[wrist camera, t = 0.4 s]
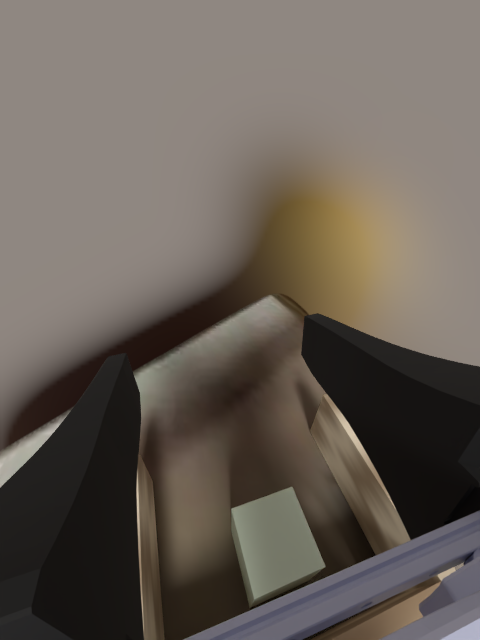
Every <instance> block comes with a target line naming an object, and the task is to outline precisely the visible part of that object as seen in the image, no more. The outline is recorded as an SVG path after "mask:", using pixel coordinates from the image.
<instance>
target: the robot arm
mask: <svg viewBox="0 0 480 640" xmlns="http://www.w3.org/2000/svg"><path fill="white" fill-rule="evenodd" d="M301 355H302V356H303V358H304V360H305V362H306V364H307V366H308V368H309V369H310V371H311V373H312V374H313V376H314V377H315V378H316V380H317V381H318V383H319V384H320V385H321V387H322V388H323V389H324V391H325V392H326V393H327V395H328V396H329V397H330V399H331V400H332V401H333V403H334V404H335V405H336V406H337V408H338V409H339V410H340V412H341V413H342V414H343V416H344V417H345V419H346V420H347V422H348V423H349V425H350V426H351V428H352V430H353V431H354V433H355V435H356V436H357V438H358V440H359V441H360V443H361V445H362V446H363V448H364V450H365V452H366V453H367V455H368V457H369V459H370V460H371V462H372V464H373V466H374V467H375V469H376V471H377V473H378V475H379V477H380V479H381V481H382V483H383V484H384V486H385V488H386V490H387V492H388V494H389V496H390V498H391V500H392V502H393V504H394V506H395V508H396V510H397V512H398V514H399V516H400V518H401V520H402V522H403V525H404V527H405V529H406V531H407V533H408V535H409V538H410V541H408V542H406V543H404V544H401V545H399V546H397V547H394V548H392V549H390V550H388V551H385V552H383V553H381V554H378V555H376V556H374V557H371V558H369V559H367V560H365V561H362V562H360V563H358V564H355V565H353V566H351V567H349V568H346V569H344V570H342V571H339V572H337V573H335V574H332V575H330V576H328V577H326V578H323V579H321V580H319V581H316V582H314V583H312V584H310V585H307V586H305V587H303V588H300V589H298V590H296V591H293V592H291V593H289V594H287V595H284V596H282V597H280V598H277V599H275V600H273V601H270V602H268V603H266V604H264V605H261V606H259V607H257V608H254V609H252V610H250V611H248V612H245V613H243V614H241V615H238V616H236V617H234V618H231V619H229V620H227V621H225V622H222V623H220V624H218V625H215V626H213V627H211V628H209V629H206V630H204V631H202V632H199V633H197V634H195V635H192V636H190V637H188V638H186V639H183V640H303V639H305V638H307V637H309V636H311V635H313V634H315V633H317V632H319V631H321V630H324V629H326V628H328V627H330V626H332V625H334V624H336V623H338V622H340V621H342V620H344V619H346V618H349V617H351V616H353V615H355V614H357V613H359V612H361V611H363V610H365V609H367V608H369V607H371V606H374V605H376V604H378V603H380V602H382V601H384V600H386V599H388V598H390V597H392V596H394V595H396V594H399V593H401V592H403V591H405V590H407V589H409V588H411V587H413V586H415V585H417V584H419V583H421V582H424V581H426V580H428V579H430V578H432V577H434V576H436V575H438V574H440V573H442V572H444V571H447V570H449V569H451V568H453V567H455V566H457V565H459V564H461V563H463V562H464V566H463V567H461V568H459V569H458V570H456V571H455V572H453V573H451V574H450V575H448V576H447V577H445V578H443V579H442V581H441V583H440V585H439V587H438V588H437V589H436V590H435V591H434V592H433V593H432V594H431V595H430V596H428V597H427V598H426V599H425V600H424V601H422V602H421V603H420V604H419V610H420V612H421V614H422V615H423V617H422V618H420V619H418V620H416V621H414V622H412V623H410V624H408V625H406V626H405V627H403V628H401V629H399V630H397V631H395V632H393V633H391V634H389V635H387V636H385V637H383V638H381V639H379V640H480V367H479V366H473V365H468V364H463V363H458V362H454V361H450V360H445V359H441V358H437V357H433V356H429V355H425V354H422V353H419V352H416V351H412V350H409V349H406V348H402V347H400V346H397V345H394V344H391V343H388V342H386V341H383V340H381V339H378V338H375V337H373V336H370V335H368V334H365V333H363V332H361V331H358V330H356V329H354V328H351V327H349V326H347V325H345V324H342V323H340V322H338V321H335V320H333V319H331V318H329V317H326V316H323V315H321V314H313V315H308V316H305V318H304V329H303V341H302V352H301ZM140 426H141V405H140V392H139V389H138V386H137V383H136V380H135V378H134V375H133V372H132V369H131V366H130V363H129V360H128V357H127V354H126V353H124V354H119V355H115V356H109V357H108V358H107V359H106V361H105V363H104V364H103V365H102V367H101V368H100V370H99V372H98V373H97V375H96V376H95V378H94V379H93V381H92V382H91V384H90V385H89V387H88V388H87V390H86V391H85V393H84V394H83V395H82V397H81V398H80V400H79V401H78V402H77V404H76V405H75V406H74V408H73V409H72V410H71V412H70V413H69V414H68V415H67V417H66V418H65V419H64V421H63V422H62V423H61V424H60V426H59V427H58V428H57V429H56V430H55V432H54V433H53V434H52V435H51V436H50V438H49V439H48V440H47V441H46V442H45V443H44V444H43V445H42V446H41V447H40V448H39V450H38V451H37V452H36V453H35V454H34V455H33V456H32V457H31V458H30V459H29V460H28V461H27V462H26V463H25V464H24V465H23V466H22V467H21V468H20V469H19V470H18V471H17V472H16V473H15V474H14V475H13V476H12V477H11V478H10V479H9V480H8V481H7V482H6V483H5V484H4V485H3V486H2V487H1V488H0V640H144V630H143V616H142V602H141V586H140V568H139V549H138V524H137V468H138V454H139V441H140Z"/></svg>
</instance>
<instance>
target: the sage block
mask: <svg viewBox="0 0 480 640" xmlns="http://www.w3.org/2000/svg"><path fill="white" fill-rule="evenodd" d="M231 532H232V537H233V541H234V545H235V549H236V553H237V557H238V562H239V566H240V570H241V574H242V578H243V582H244V586H245V591H246V595H247V599H248V603H249V607H250V608H251V607H253V606H256V605H258V604H260V603H262V602H264V601H266V600H269V599H271V598H273V597H275V596H277V595H279V594H282V593H284V592H286V591H288V590H290V589H292V588H295V587H297V586H299V585H301V584H303V583H305V582H308V581H309V580H310V579H311V578H312V577H314V576H315V575H316V574H317V573H319V572H320V571H321V570H322V569H323V568H325V567H326V566H325V564H324V562H323V559H322V557H321V554H320V552H319V550H318V547H317V545H316V542H315V540H314V538H313V535H312V533H311V530H310V528H309V526H308V523H307V521H306V518H305V516H304V514H303V511H302V509H301V506H300V504H299V502H298V499H297V497H296V494H295V492H294V490H293V487H290V488H287V489H284V490H281V491H279V492H276V493H273V494H270V495H268V496H265V497H262V498H259V499H257V500H254V501H251V502H248V503H246V504H243V505H240V506H237V507H235V508H232V509H231Z"/></svg>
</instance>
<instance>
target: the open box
mask: <svg viewBox="0 0 480 640" xmlns="http://www.w3.org/2000/svg"><path fill="white" fill-rule="evenodd" d="M310 432H311V434H312V436H313V438H314V440H315V442H316V444H317V446H318V447H319V449H320V451H321V453H322V455H323V457H324V459H325V461H326V463H327V464H328V466H329V468H330V470H331V472H332V474H333V476H334V478H335V479H336V481H337V483H338V485H339V487H340V489H341V491H342V493H343V494H344V496H345V498H346V500H347V502H348V504H349V506H350V508H351V510H352V511H353V513H354V515H355V517H356V519H357V521H358V523H359V525H360V526H361V528H362V530H363V532H364V534H365V536H366V538H367V540H368V542H369V543H370V545H371V547H372V549H373V551H374V553H375V555H378V554H381V553H383V552H385V551H388V550H390V549H392V548H394V547H397V546H399V545H401V544H404V543H406V542H408V541H410V538H409V535H408V533H407V531H406V529H405V527H404V525H403V522H402V520H401V518H400V516H399V514H398V512H397V510H396V508H395V506H394V504H393V502H392V500H391V498H390V496H389V494H388V492H387V490H386V488H385V486H384V484H383V483H382V481H381V479H380V477H379V475H378V473H377V471H376V469H375V467H374V466H373V464H372V462H371V460H370V459H369V457H368V455H367V453H366V452H365V450H364V448H363V446H362V445H361V443H360V441H359V440H358V438H357V436H356V435H355V433H354V431H353V430H352V428H351V426H350V425H349V423H348V422H347V420H346V419H345V417H344V416H343V414H342V413H341V412H340V410H339V409H338V408H337V406H336V405H335V404H334V403H333V401H332V400H331V399H330V397H329V396H328V395H327V394H325V395H323V397H322V400H321V402H320V405H319V408H318V411H317V413H316V416H315V419H314V421H313V424H312V427H311V430H310ZM137 524H138V549H139V568H140V586H141V602H142V616H143V630H144V640H165V638H164V625H163V611H162V598H161V585H160V572H159V558H158V545H157V532H156V519H155V505H154V492H153V481H152V479H151V477H150V474H149V472H148V470H147V468H146V466H145V464H144V462H143V460H142V458H141V456H140V454H138V468H137ZM455 571H456V570H455V568H454V567H453V568H451V569H449V570H447V571H444V572H442V573H440V574H438V575H436V576H434V577H432V578H430V579H428V580H426V581H424V582H421V583H419V584H417V585H415V586H413V587H411V588H409V589H407V590H405V591H403V592H401V593H399V594H397V595H395V596H393V597H391V598H389V599H387V600H385V601H383V602H381V603H379V604H377V605H376V606H374V607H372V608H370V609H368V610H366V611H364V612H362V613H360V614H358V615H356V616H354V617H352V618H351V619H349V620H347V621H345V622H343V623H341V624H339V625H337V626H335V627H333V628H331V629H329V630H328V631H326V632H324V633H322V634H320V635H318V636H316V637H314V638H312V639H310V640H379V639H381V638H383V637H385V636H387V635H389V634H391V633H393V632H395V631H397V630H399V629H401V628H403V627H405V626H406V625H408V624H410V623H412V622H414V621H416V620H418V619H420V618H422V617H423V615H422V614H421V612H420V610H419V604H420V603H421V602H422V601H424V600H425V599H426V598H427V597H428V596H430V595H431V594H432V593H433V592H434V591H435V590H436V589H437V588H438V587H439V585H440V583H441V581H442V579H443V578H445V577H447V576H448V575H450V574H451V573H453V572H455Z"/></svg>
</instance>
